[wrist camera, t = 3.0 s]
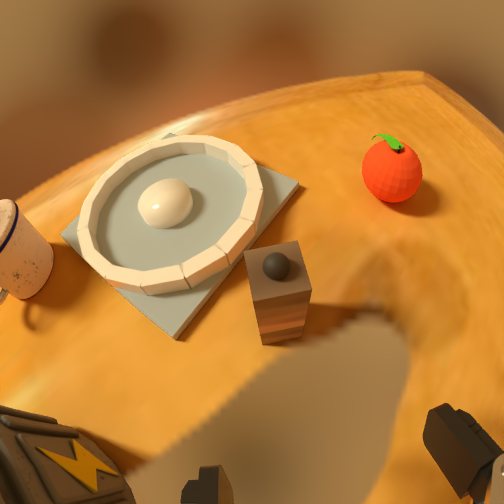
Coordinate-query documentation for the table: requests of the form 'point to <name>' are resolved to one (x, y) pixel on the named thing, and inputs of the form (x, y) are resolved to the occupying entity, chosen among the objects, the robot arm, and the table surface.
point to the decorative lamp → (54, 464)
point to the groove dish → (176, 222)
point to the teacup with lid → (21, 254)
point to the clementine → (391, 170)
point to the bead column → (279, 290)
